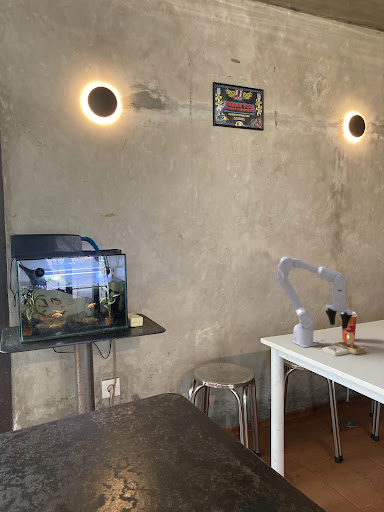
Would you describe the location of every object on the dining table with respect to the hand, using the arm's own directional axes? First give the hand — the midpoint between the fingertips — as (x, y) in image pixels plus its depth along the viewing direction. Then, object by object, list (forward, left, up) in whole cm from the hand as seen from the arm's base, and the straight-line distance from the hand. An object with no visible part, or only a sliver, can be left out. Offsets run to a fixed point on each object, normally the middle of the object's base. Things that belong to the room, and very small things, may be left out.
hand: (338, 326), depth 182 cm
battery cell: (+7, 0, -9) cm, 11 cm away
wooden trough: (+7, 0, -9) cm, 12 cm away
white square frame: (+6, -8, -9) cm, 14 cm away
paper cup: (-5, +12, -10) cm, 16 cm away
